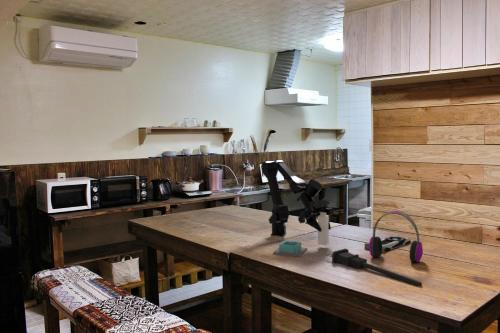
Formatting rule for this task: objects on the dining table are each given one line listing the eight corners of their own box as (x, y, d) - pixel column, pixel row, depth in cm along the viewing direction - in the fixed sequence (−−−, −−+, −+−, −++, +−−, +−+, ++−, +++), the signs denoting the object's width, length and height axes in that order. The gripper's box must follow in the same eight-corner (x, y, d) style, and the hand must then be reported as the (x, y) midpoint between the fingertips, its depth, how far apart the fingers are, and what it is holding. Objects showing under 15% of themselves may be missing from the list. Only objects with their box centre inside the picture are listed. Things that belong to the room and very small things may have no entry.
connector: (318, 244, 193) (317, 213, 192) (320, 242, 197) (320, 211, 196) (326, 245, 192) (326, 213, 190) (328, 243, 195) (328, 212, 194)
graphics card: (364, 243, 190) (394, 233, 207) (364, 250, 191) (394, 240, 207) (384, 247, 183) (413, 237, 199) (384, 254, 183) (413, 244, 199)
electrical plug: (338, 256, 180) (338, 245, 179) (427, 289, 146) (428, 275, 145) (323, 260, 175) (324, 248, 174) (412, 294, 141) (413, 280, 141)
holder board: (273, 254, 185) (272, 245, 185) (282, 247, 196) (281, 239, 196) (299, 256, 180) (299, 247, 180) (307, 249, 191) (307, 241, 191)
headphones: (423, 260, 173) (424, 211, 171) (420, 266, 165) (421, 215, 164) (372, 253, 183) (372, 208, 182) (367, 258, 176) (367, 211, 174)
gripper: (302, 194, 190) (319, 222, 182) (331, 190, 201) (349, 217, 193) (290, 209, 198) (307, 237, 189) (320, 205, 208) (336, 231, 200)
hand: (325, 230), depth 193 cm, fingers closed on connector, 5 cm apart
